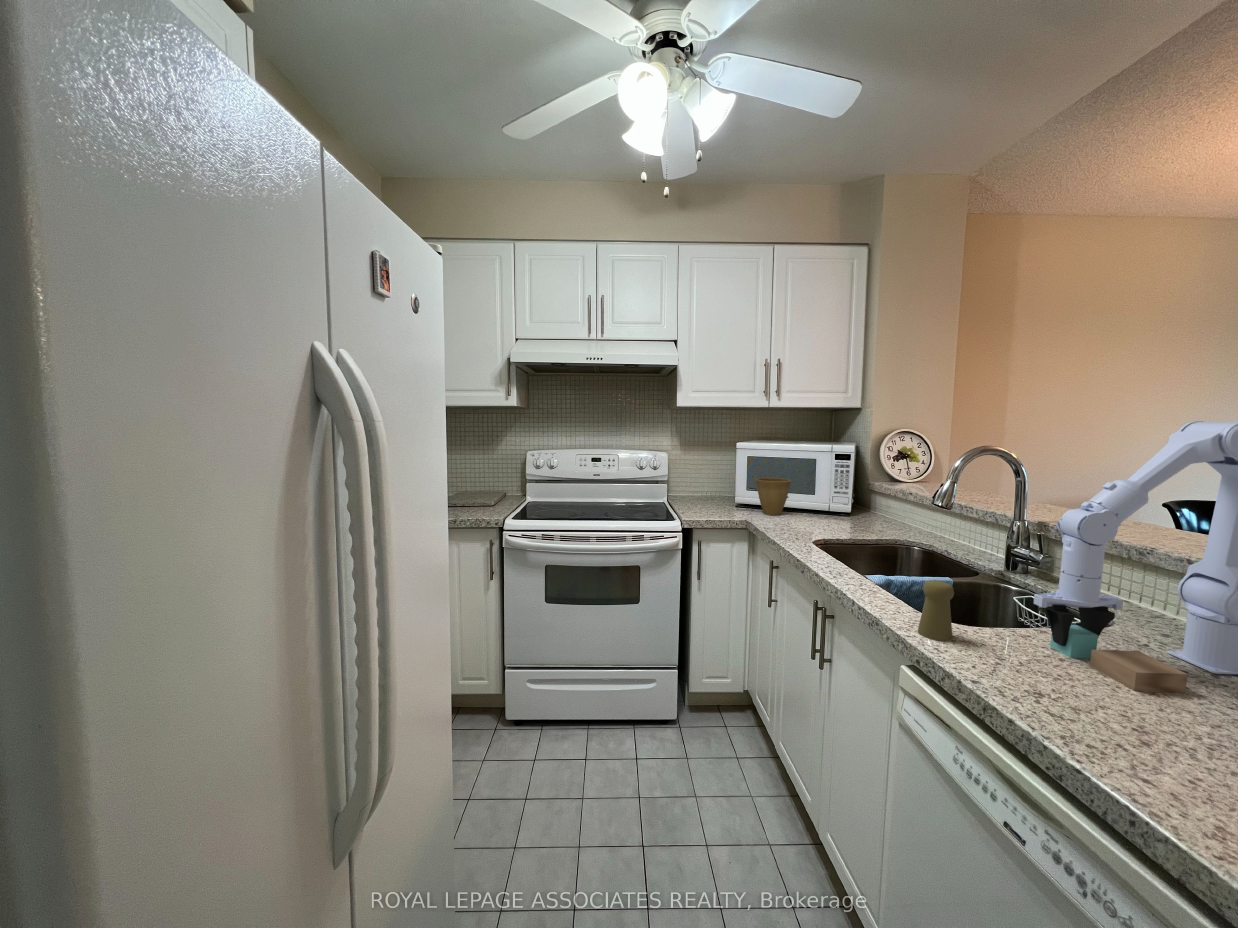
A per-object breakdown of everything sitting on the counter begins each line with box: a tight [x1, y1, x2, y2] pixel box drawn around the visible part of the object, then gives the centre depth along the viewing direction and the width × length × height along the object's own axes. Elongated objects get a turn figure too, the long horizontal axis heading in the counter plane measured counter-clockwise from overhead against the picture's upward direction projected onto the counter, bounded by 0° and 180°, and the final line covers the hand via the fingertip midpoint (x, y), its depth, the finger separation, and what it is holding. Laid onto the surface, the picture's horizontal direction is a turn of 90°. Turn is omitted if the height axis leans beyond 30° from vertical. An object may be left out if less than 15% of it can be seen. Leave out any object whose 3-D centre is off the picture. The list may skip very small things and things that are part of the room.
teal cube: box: [1049, 624, 1099, 659], centre depth 94 cm, size 4×4×4 cm
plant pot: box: [756, 477, 792, 516], centre depth 228 cm, size 15×15×16 cm
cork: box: [917, 579, 955, 642], centre depth 101 cm, size 6×6×11 cm
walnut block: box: [1089, 649, 1189, 694], centre depth 85 cm, size 8×8×4 cm
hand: (1073, 644), depth 94 cm, fingers closed on teal cube, 4 cm apart
